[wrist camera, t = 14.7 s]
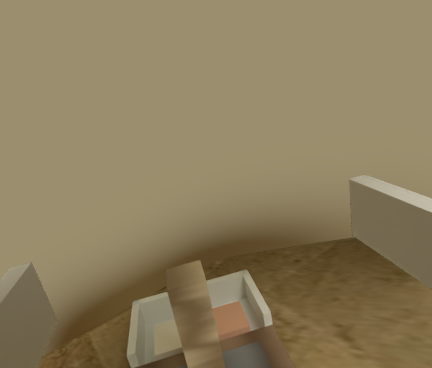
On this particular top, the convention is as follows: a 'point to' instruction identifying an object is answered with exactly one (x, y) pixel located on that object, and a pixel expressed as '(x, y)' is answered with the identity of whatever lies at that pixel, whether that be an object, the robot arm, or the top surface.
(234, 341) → the board
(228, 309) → the tile terracotta
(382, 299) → the top surface
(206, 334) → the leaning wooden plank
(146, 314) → the tray
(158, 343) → the tile cream
